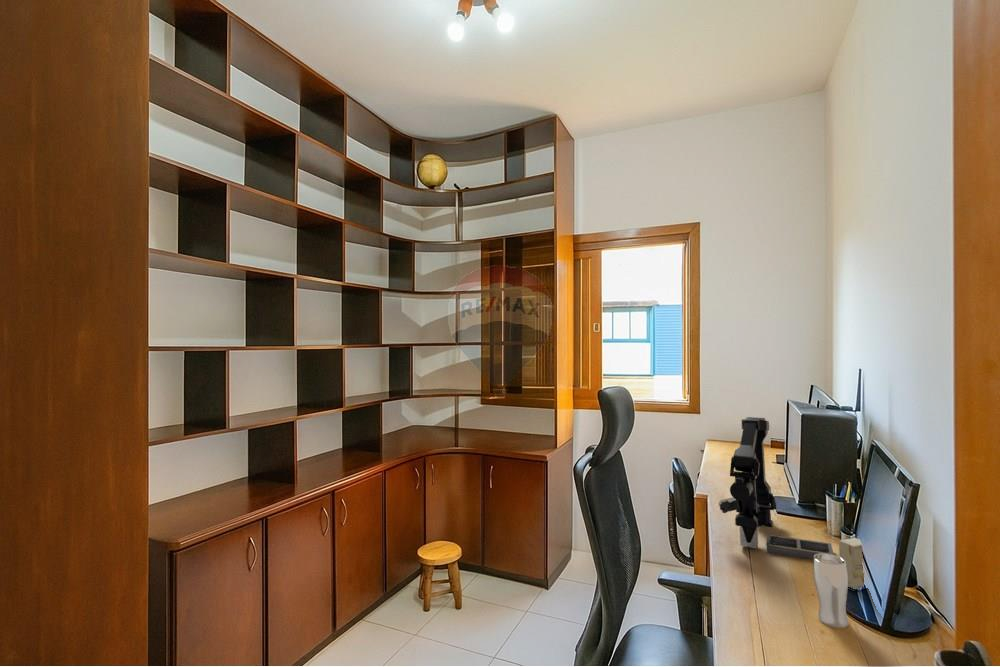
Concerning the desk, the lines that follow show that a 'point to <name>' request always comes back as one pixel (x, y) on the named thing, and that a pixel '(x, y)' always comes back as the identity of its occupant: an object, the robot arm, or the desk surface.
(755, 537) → the knobbed drawer box
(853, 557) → the skincare box
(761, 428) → the robot arm
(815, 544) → the two-cubby grey shelf
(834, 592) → the beer glass
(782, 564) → the desk surface
